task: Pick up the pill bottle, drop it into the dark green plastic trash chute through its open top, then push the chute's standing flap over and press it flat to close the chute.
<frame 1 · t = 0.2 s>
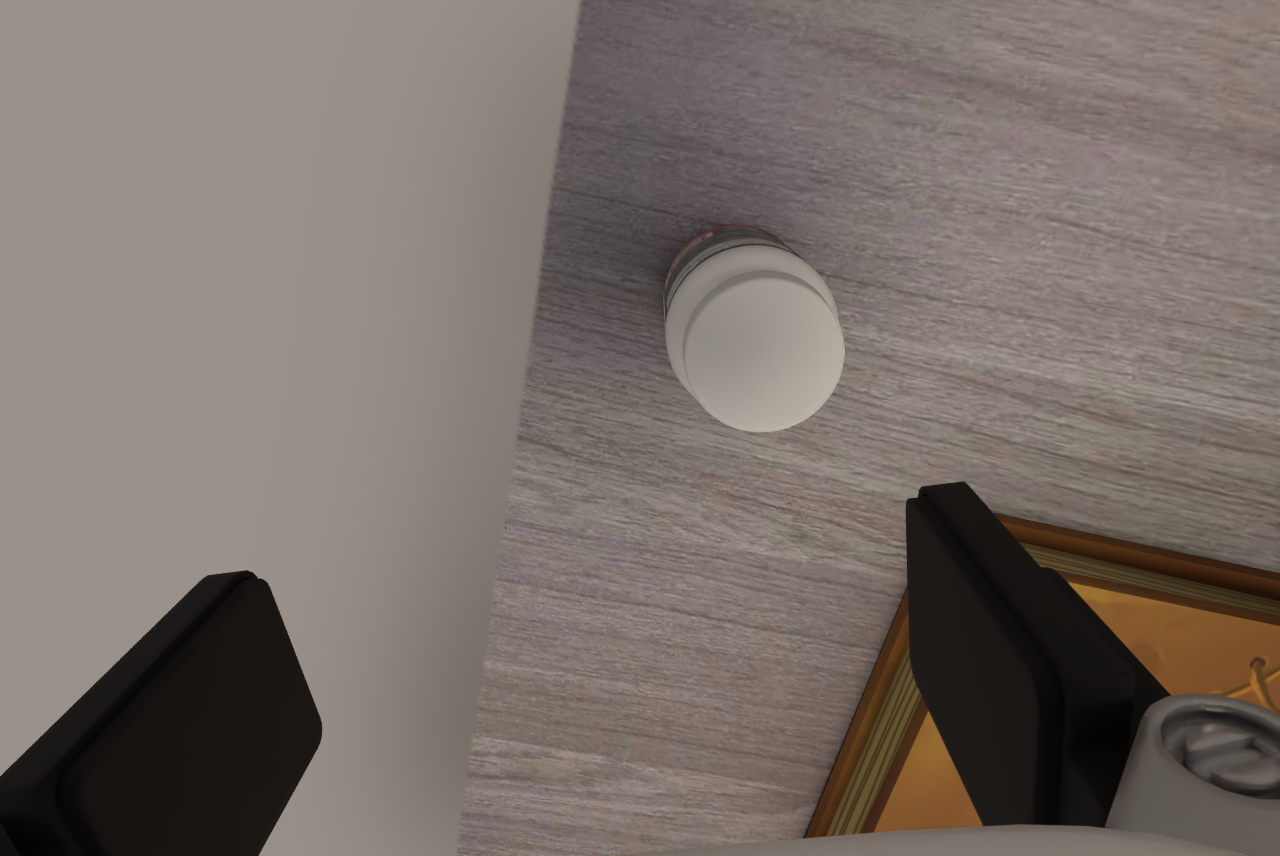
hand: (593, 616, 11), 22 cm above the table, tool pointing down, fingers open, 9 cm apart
diary: (1032, 727, 39), on the table
pill bottle: (731, 292, 31), on the table
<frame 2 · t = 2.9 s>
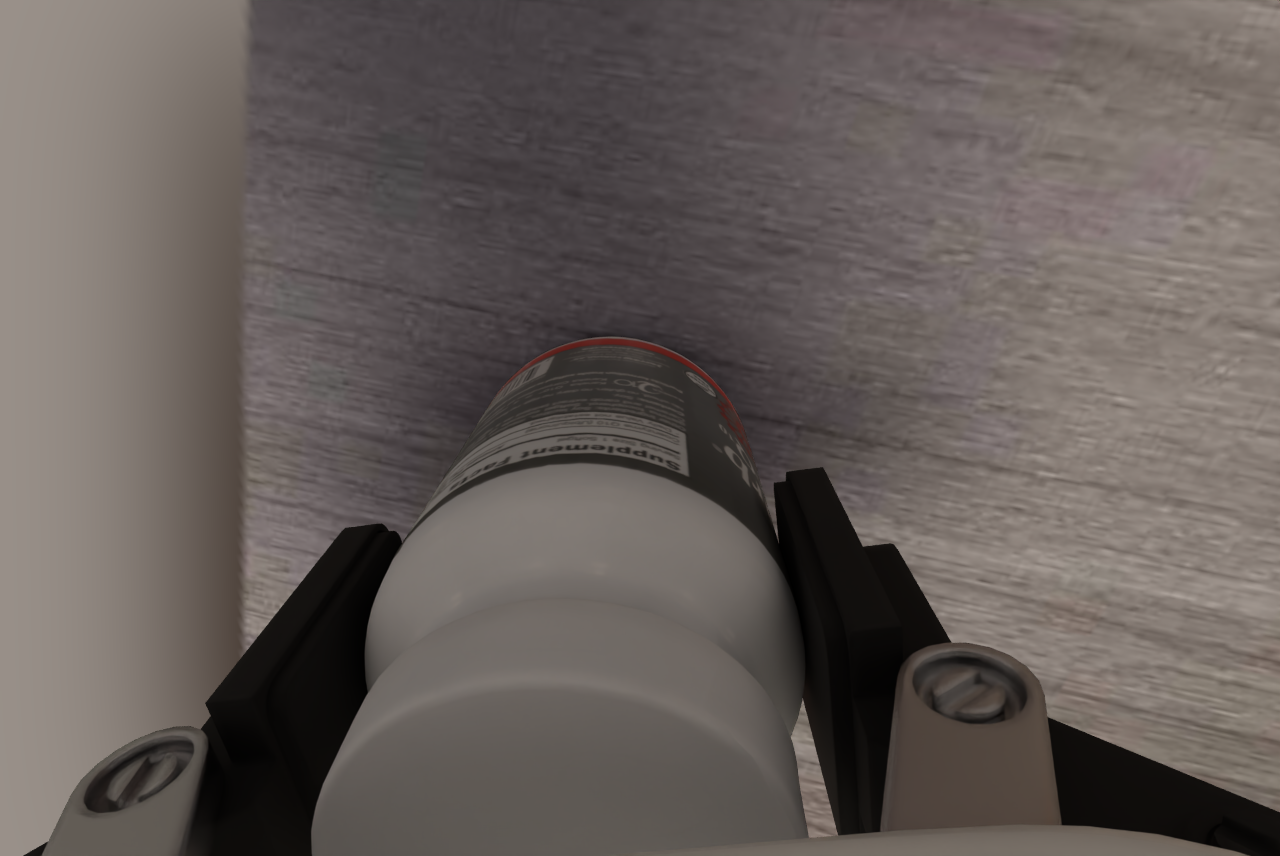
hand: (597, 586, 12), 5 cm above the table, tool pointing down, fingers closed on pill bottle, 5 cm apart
pill bottle: (614, 454, 16), on the table, touching gripper
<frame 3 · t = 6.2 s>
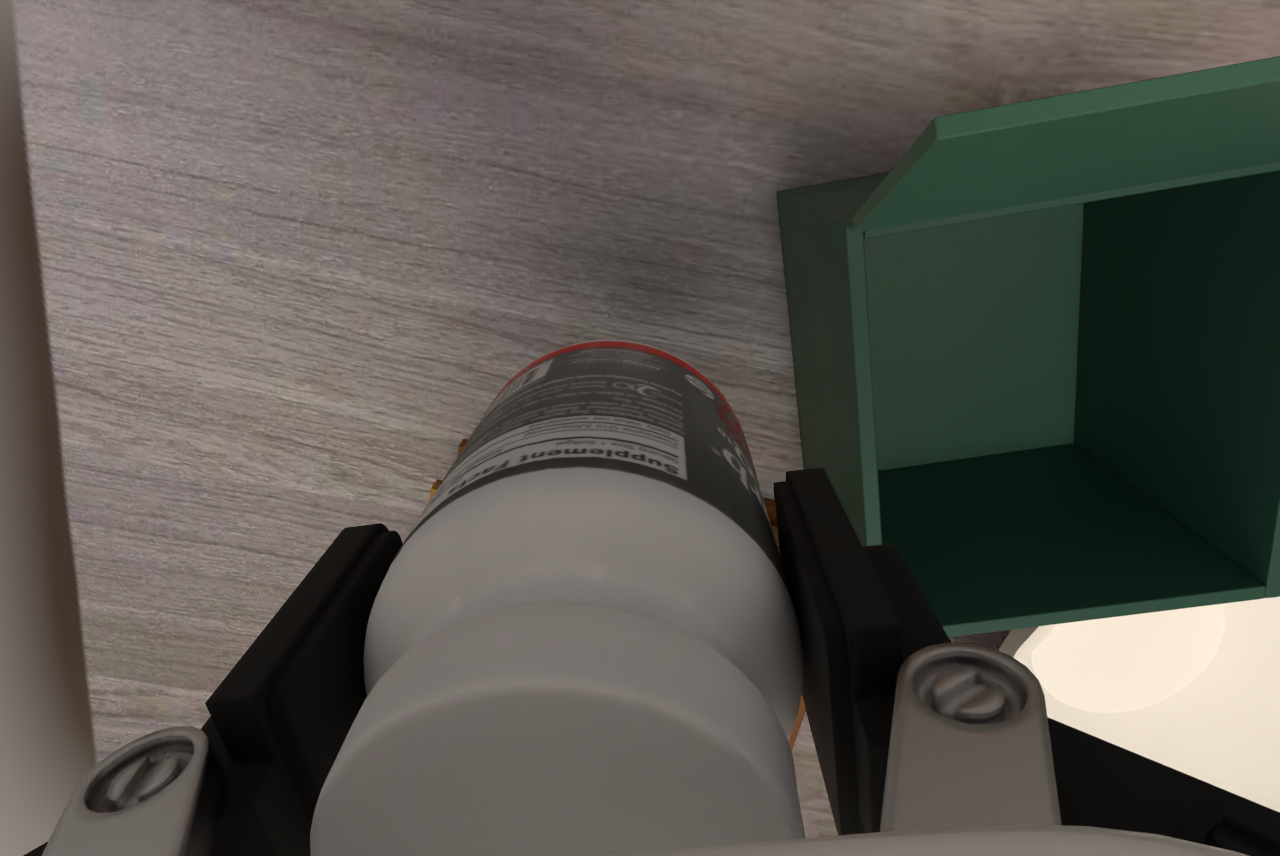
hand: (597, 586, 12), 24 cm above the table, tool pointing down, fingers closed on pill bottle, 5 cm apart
diary: (608, 660, 41), on the table
trash chute: (936, 326, 34), on the table
pill bottle: (613, 456, 16), point 18 cm above the table, touching gripper
bowl: (1116, 627, 40), on the table
chute flap: (1197, 133, 16), point 16 cm above the table, hinge at 110.0°
when the fingers open (15 cm above the table, at t = 9.6 s): pill bottle drops 10 cm, resting on trash chute.
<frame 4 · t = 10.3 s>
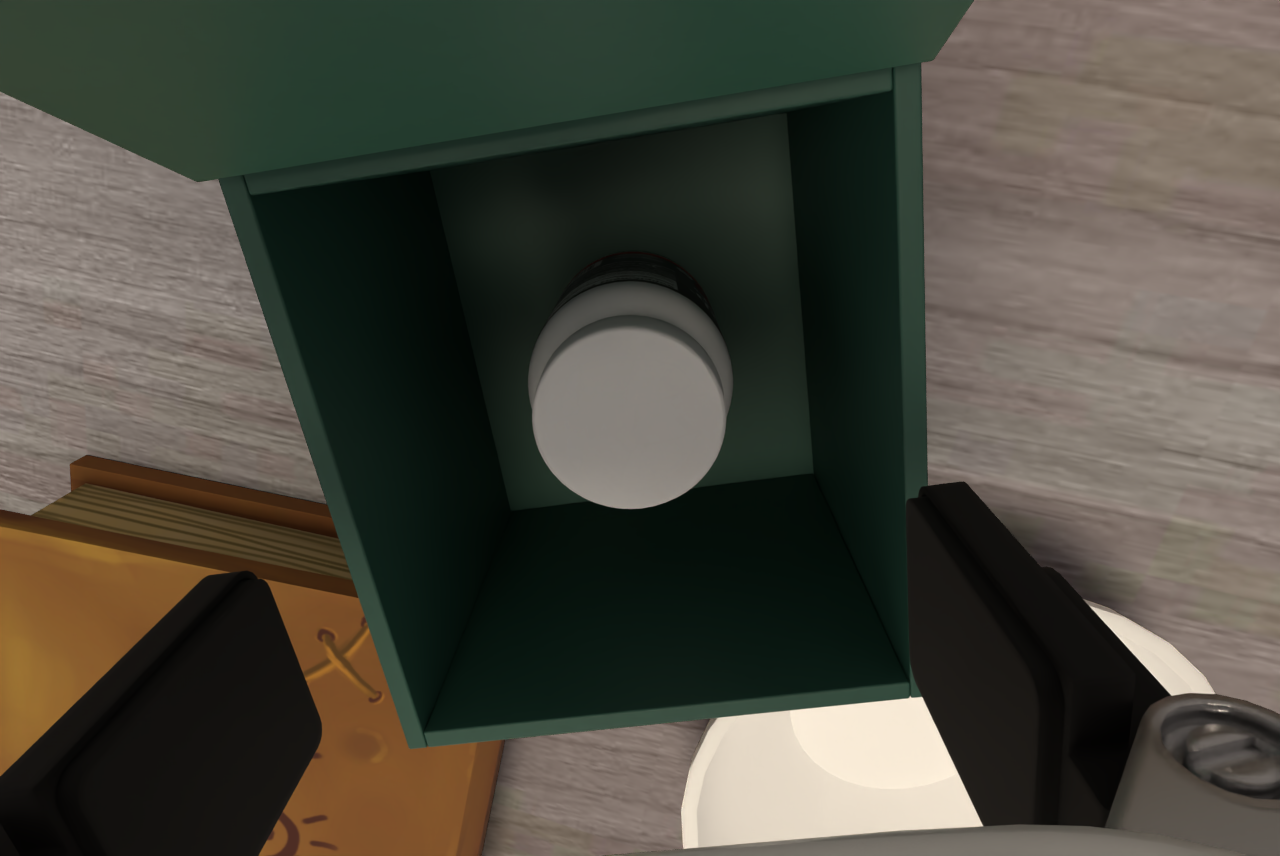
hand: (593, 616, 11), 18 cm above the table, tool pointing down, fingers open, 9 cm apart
diary: (304, 716, 35), on the table
trash chute: (635, 328, 28), on the table
pill bottle: (634, 327, 27), resting on trash chute
bowl: (895, 690, 33), on the table
chute flap: (497, 5, 9), point 16 cm above the table, hinge at 110.0°
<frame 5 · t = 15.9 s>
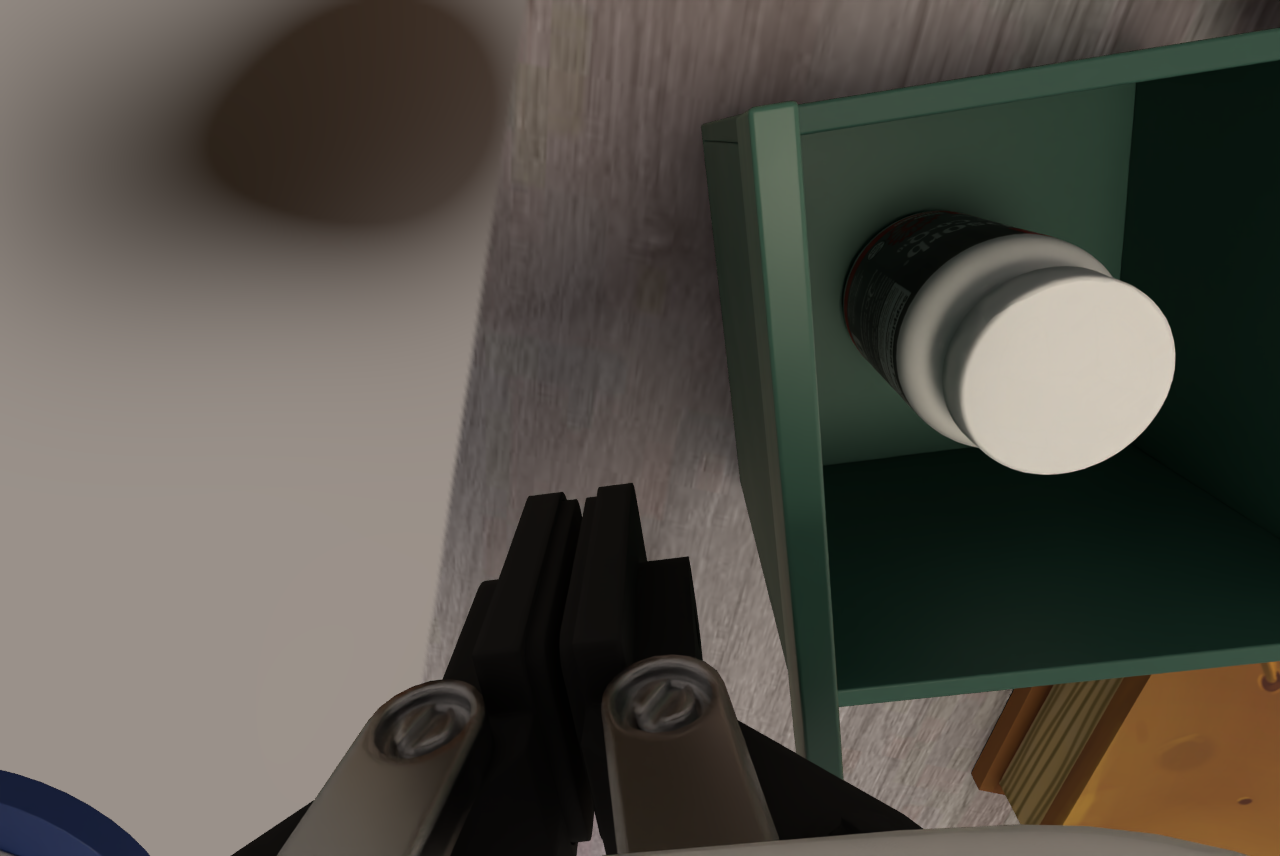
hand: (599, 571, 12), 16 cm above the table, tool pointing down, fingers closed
trash chute: (921, 290, 26), on the table
pill bottle: (920, 293, 26), resting on trash chute
chute flap: (795, 569, 11), point 17 cm above the table, hinge at 95.0°, touching gripper
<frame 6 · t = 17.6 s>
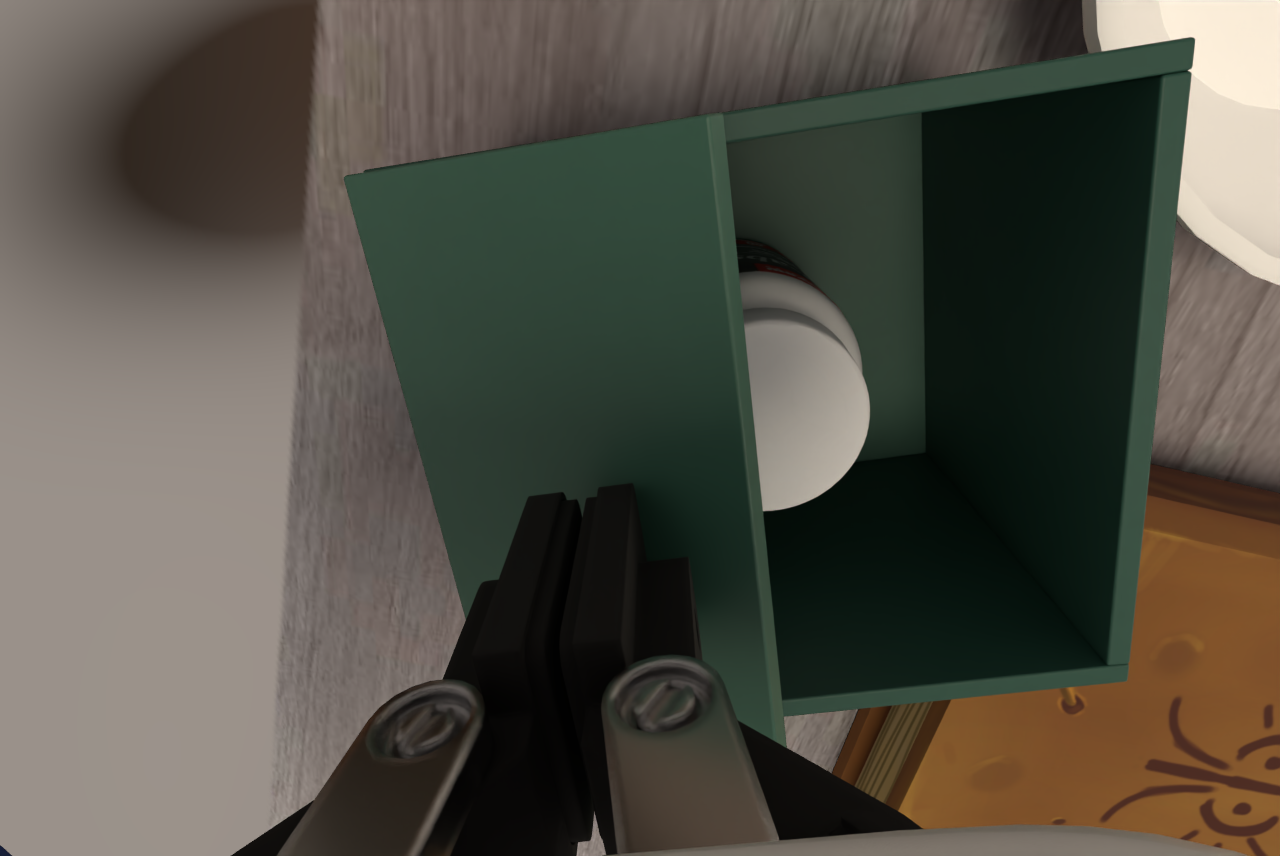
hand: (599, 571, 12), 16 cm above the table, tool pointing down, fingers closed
diary: (1149, 674, 32), on the table
trash chute: (732, 316, 27), on the table
pill bottle: (729, 318, 26), resting on trash chute
chute flap: (581, 544, 13), point 15 cm above the table, hinge at 31.5°, touching gripper
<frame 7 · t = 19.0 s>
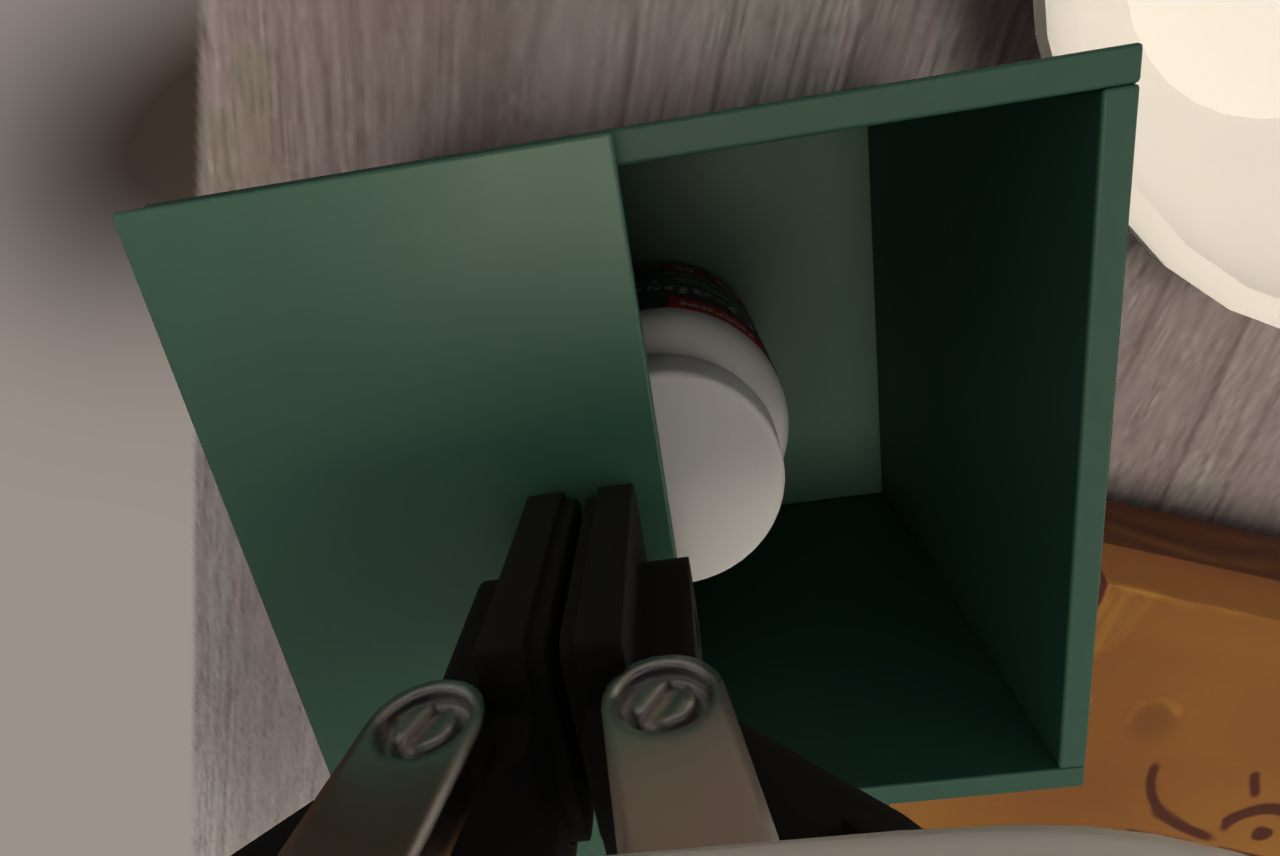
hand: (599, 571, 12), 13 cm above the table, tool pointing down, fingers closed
diary: (1129, 724, 30), on the table
trash chute: (668, 345, 24), on the table
pill bottle: (663, 348, 24), resting on trash chute
chute flap: (470, 582, 12), point 13 cm above the table, hinge at -0.3°, touching gripper
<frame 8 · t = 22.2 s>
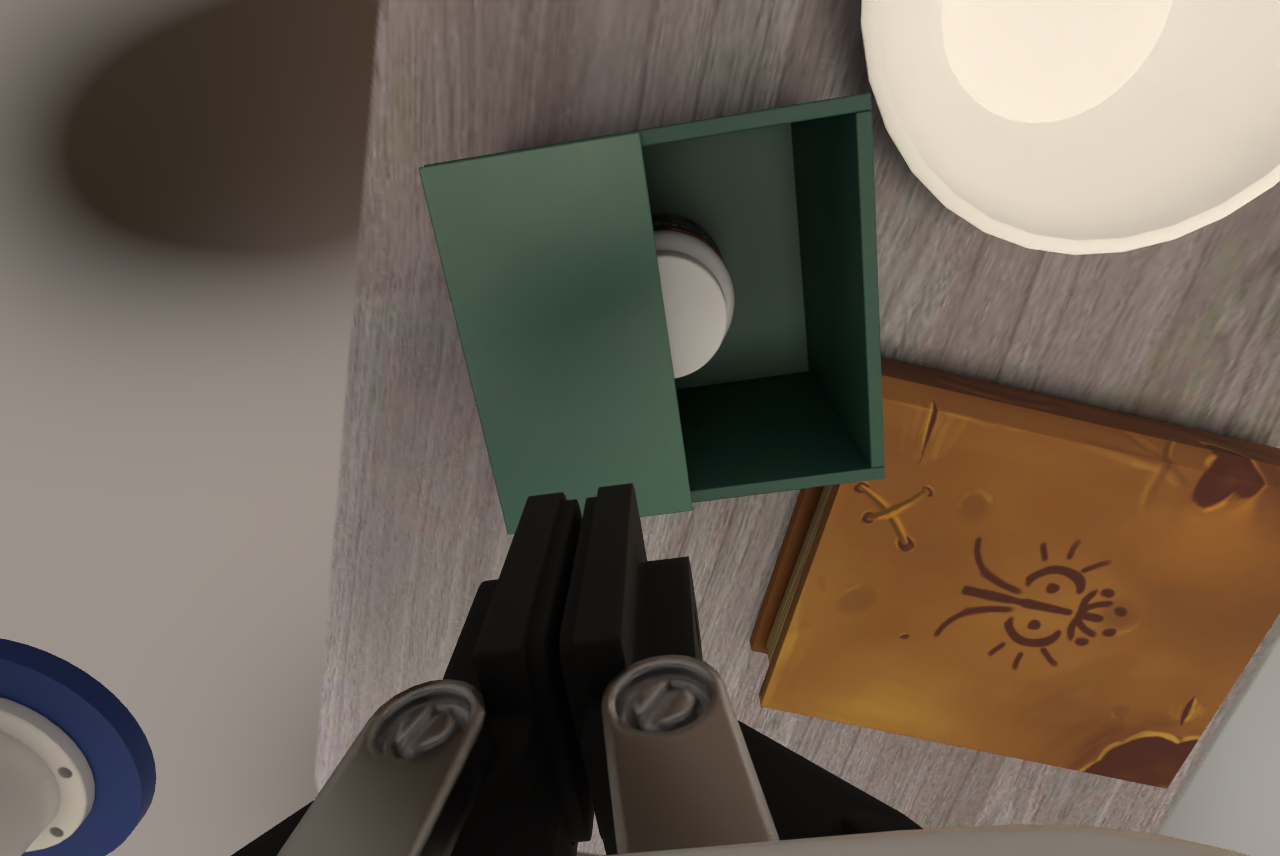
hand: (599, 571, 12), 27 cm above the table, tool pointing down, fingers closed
diary: (989, 545, 42), on the table
trash chute: (666, 270, 37), on the table
pill bottle: (663, 272, 37), resting on trash chute
bowl: (1046, 3, 33), on the table
chute flap: (567, 352, 25), point 13 cm above the table, hinge at -0.9°
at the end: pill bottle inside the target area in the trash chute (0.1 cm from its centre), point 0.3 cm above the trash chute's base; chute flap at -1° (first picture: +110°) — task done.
